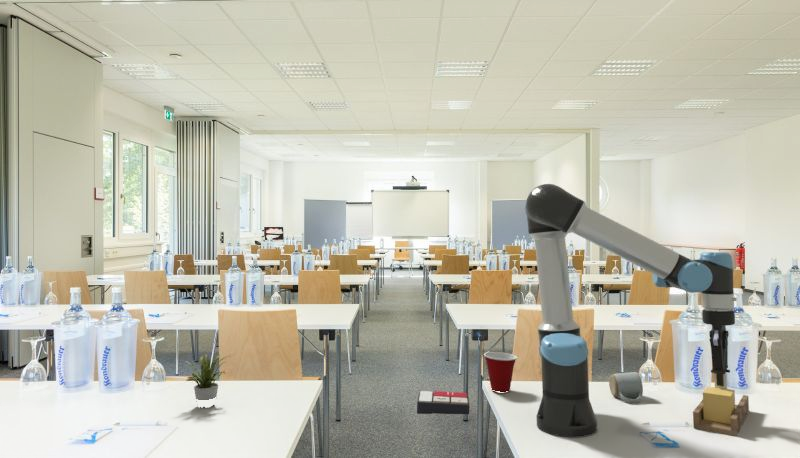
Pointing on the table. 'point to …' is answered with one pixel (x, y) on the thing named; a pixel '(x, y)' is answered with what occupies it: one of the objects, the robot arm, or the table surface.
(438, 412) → the black red white box
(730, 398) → the mustard block
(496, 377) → the plastic cup
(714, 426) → the walnut chute
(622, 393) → the ceramic mug
